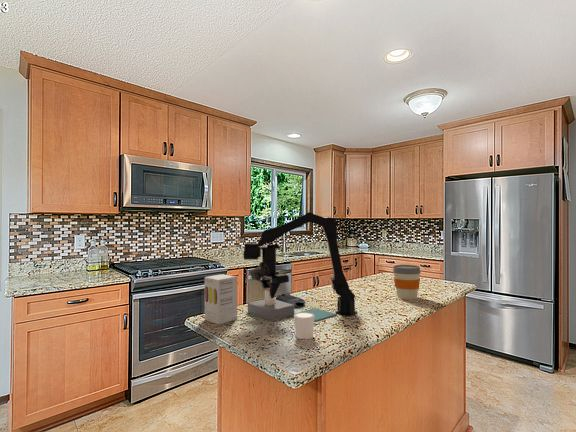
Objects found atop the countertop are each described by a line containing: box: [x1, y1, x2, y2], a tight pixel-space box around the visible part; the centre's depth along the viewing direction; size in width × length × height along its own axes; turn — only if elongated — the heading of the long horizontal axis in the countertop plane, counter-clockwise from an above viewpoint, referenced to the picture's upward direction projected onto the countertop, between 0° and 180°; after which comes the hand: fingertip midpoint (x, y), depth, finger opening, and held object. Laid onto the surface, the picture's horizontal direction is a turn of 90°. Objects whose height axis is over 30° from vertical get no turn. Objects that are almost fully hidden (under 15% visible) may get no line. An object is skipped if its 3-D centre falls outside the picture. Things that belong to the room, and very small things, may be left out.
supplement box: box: [204, 273, 238, 325], centre depth 124 cm, size 10×9×17 cm
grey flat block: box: [247, 298, 295, 322], centre depth 131 cm, size 16×12×4 cm
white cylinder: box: [293, 311, 315, 340], centre depth 105 cm, size 7×7×7 cm
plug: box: [264, 287, 276, 306], centre depth 131 cm, size 3×3×9 cm
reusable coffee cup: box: [392, 264, 421, 301], centre depth 155 cm, size 12×13×15 cm
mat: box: [294, 307, 337, 323], centre depth 128 cm, size 12×12×1 cm
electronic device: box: [275, 293, 306, 308], centre depth 146 cm, size 9×6×15 cm
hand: (269, 297), depth 131 cm, fingers closed on plug, 3 cm apart
